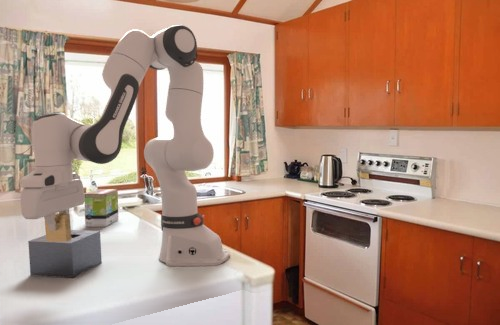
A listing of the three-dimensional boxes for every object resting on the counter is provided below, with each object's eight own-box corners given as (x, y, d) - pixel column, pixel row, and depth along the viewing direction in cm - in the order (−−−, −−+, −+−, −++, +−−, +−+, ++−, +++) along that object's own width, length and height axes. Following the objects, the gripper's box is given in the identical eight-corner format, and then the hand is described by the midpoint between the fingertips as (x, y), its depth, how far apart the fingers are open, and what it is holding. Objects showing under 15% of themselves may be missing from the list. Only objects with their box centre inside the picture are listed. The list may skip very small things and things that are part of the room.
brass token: (71, 239, 109) (69, 213, 109) (66, 241, 107) (64, 215, 107) (51, 239, 110) (49, 213, 110) (46, 241, 109) (44, 214, 108)
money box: (101, 262, 130) (100, 231, 129) (73, 278, 117) (71, 243, 116) (62, 260, 133) (60, 229, 132) (30, 275, 120) (28, 241, 119)
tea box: (107, 226, 180) (106, 193, 179) (84, 227, 180) (82, 193, 179) (119, 219, 195) (117, 188, 194) (98, 219, 195) (96, 188, 194)
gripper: (68, 171, 118) (72, 219, 119) (13, 181, 98) (18, 238, 99) (88, 171, 117) (92, 219, 118) (36, 181, 97) (41, 239, 98)
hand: (58, 228), depth 109 cm, fingers closed on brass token, 2 cm apart
